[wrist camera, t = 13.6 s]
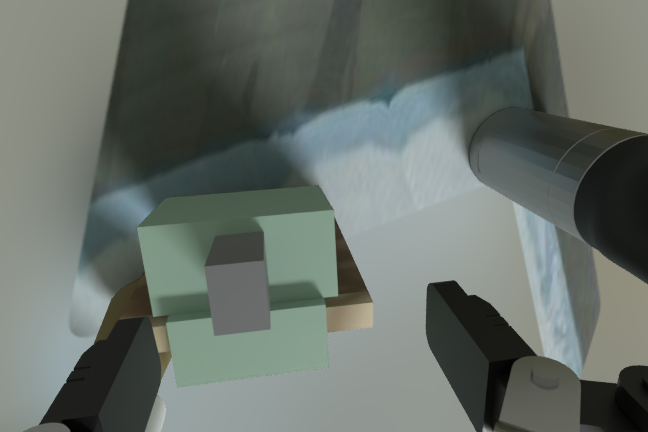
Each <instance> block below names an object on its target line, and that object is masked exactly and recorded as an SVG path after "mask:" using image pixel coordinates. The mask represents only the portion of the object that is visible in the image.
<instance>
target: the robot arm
mask: <svg viewBox="0 0 648 432" xmlns="http://www.w3.org/2000/svg"><path fill="white" fill-rule="evenodd" d="M469 154H470V164H471V168H472V170H473V172H474V174H475V176H476V177H477V178H478V179H479V180H480V181H481V182H482V183H484V184H485V185H487V186H488V187H490V188H492V189H494V190H495V191H497V192H499V193H500V194H502V195H504V196H505V197H507V198H509V199H510V200H512V201H514V202H516V203H517V204H519V205H521V206H523V207H524V208H526V209H528V210H529V211H531V212H533V213H535V214H536V215H538V216H540V217H542V218H543V219H545V220H547V221H548V222H550V223H552V224H554V225H555V226H557V227H559V228H561V229H562V230H564V231H566V232H568V233H570V234H571V235H573V236H575V237H576V238H578V239H580V240H582V241H583V242H585V243H587V244H589V245H590V246H592V247H594V248H595V249H597V250H599V251H600V252H601V253H602V254H603V255H604V256H605V257H606V258H608V259H609V260H611V261H612V262H614V263H615V264H617V265H619V266H620V267H622V268H623V269H625V270H627V271H628V272H630V273H631V274H633V275H635V276H636V277H638V278H639V279H641V280H642V281H644V282H645V283H647V284H648V134H646V133H641V132H636V131H631V130H626V129H621V128H616V127H611V126H606V125H601V124H597V123H591V122H587V121H582V120H577V119H572V118H567V117H563V116H558V115H553V114H548V113H544V112H539V111H534V110H529V109H523V108H518V107H516V108H507V109H503V110H500V111H498V112H496V113H494V114H493V115H491V116H490V117H489V118H487V119H486V120H485V121H484V122H483V123H482V125H481V126H480V127H479V128H478V130H477V131H476V133H475V135H474V137H473V140H472V142H471V146H470V152H469ZM426 335H427V340H428V344H429V347H430V349H431V351H432V353H433V354H434V356H435V358H436V360H437V362H438V363H439V365H440V367H441V368H442V371H443V372H444V374H445V376H446V378H447V379H448V381H449V383H450V385H451V387H452V388H453V390H454V392H455V394H456V396H457V397H458V399H459V401H460V403H461V404H462V406H463V408H464V410H465V411H466V413H467V415H468V417H469V419H470V421H471V422H472V424H473V426H474V428H475V430H476V431H477V432H648V366H640V365H638V366H629V367H626V368H624V369H623V370H622V371H621V372H620V374H619V378H618V383H617V384H616V383H605V382H596V381H586V380H580V379H579V378H578V376H577V375H576V374H575V373H574V372H573V371H572V370H571V369H570V368H569V367H567V366H566V365H564V364H562V363H560V362H558V361H556V360H553V359H550V358H546V357H541V356H537V355H536V354H535V353H534V352H533V350H532V349H531V348H530V347H529V346H528V345H527V344H526V343H525V341H523V339H522V338H521V337H520V336H519V335H518V334H517V333H516V332H515V331H514V329H513V328H512V327H511V326H509V325H508V323H507V322H506V321H505V319H504V318H503V317H501V316H500V314H499V313H498V312H497V310H496V309H495V308H494V307H493V306H492V305H491V304H490V303H488V302H487V301H485V300H483V299H481V298H480V297H478V296H476V295H469V296H468V295H467V294H466V293H465V292H464V290H463V289H462V288H461V287H460V286H459V284H458V283H457V282H456V281H454V280H453V281H445V282H436V283H430V284H428V287H427V305H426ZM66 381H67V382H66V383H65V384H64V385H63V387H62V388H61V390H60V391H59V393H58V395H57V396H56V398H55V400H54V401H53V403H52V404H51V406H50V408H49V409H48V411H47V413H46V414H45V416H44V417H43V419H42V421H41V422H40V424H39V425H38V426H35V427H32V428H30V429H28V430H26V431H24V432H145V430H146V427H147V423H148V420H149V417H150V414H151V411H152V408H153V405H154V402H155V399H156V396H157V393H158V389H159V386H160V382H161V361H160V357H159V353H158V349H157V345H156V340H155V336H154V332H153V328H152V324H151V321H150V319H149V317H147V316H145V317H136V318H128V319H120V320H118V321H117V322H116V324H115V326H114V327H113V329H112V331H111V333H110V334H109V336H108V338H107V339H106V340H98V341H97V342H96V343H95V344H94V345H92V346H91V347H90V348H89V349H88V350H87V351H86V352H84V353H83V354H82V356H81V358H80V359H79V361H78V362H77V364H76V366H75V367H74V371H72V372H71V374H70V375H69V377H68V378H67V380H66Z"/></svg>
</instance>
